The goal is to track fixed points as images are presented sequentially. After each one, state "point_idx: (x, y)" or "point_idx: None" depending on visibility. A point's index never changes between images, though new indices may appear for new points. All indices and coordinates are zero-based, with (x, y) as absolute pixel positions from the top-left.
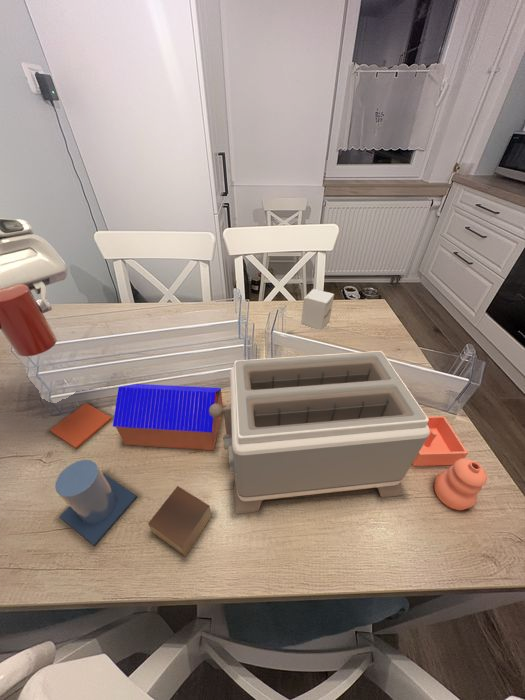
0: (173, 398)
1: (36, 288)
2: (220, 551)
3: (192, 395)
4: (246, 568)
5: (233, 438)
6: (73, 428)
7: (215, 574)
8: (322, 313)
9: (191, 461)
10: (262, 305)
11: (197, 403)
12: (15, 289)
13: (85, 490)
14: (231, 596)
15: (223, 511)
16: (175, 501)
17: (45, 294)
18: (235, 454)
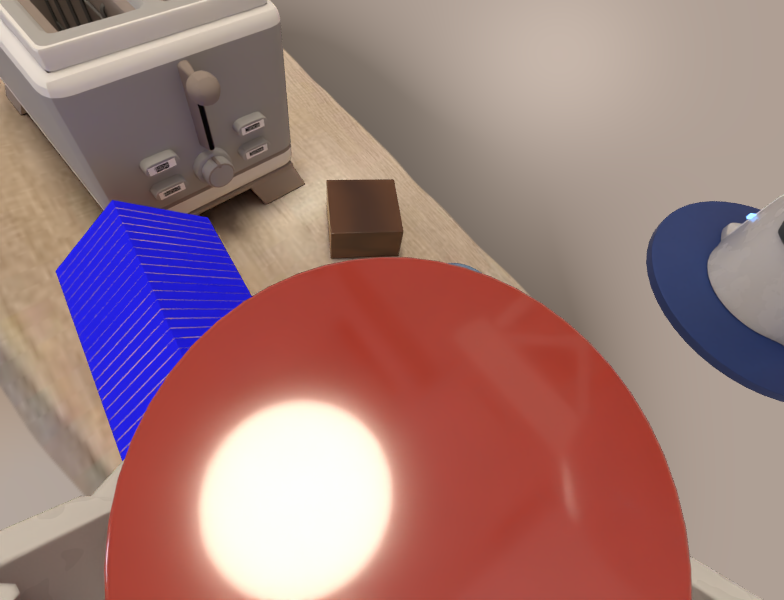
0: (175, 286)
1: (16, 590)
2: (356, 177)
3: (145, 246)
4: (352, 148)
5: (259, 19)
6: None
7: (380, 170)
8: None
9: (265, 285)
10: None
11: (160, 236)
12: (284, 469)
13: (458, 263)
14: (384, 149)
15: (311, 198)
16: (353, 220)
17: (42, 514)
18: (280, 23)
